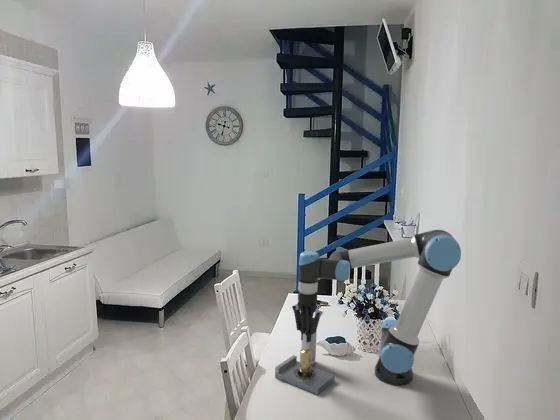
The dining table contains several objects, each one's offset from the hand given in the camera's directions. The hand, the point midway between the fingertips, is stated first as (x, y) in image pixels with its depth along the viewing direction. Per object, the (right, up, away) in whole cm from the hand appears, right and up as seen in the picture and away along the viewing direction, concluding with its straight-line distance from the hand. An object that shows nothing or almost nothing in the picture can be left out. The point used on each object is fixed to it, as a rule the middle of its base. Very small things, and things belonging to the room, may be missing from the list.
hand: (305, 348), depth 170 cm
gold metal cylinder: (0, -13, +2) cm, 13 cm away
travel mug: (+2, -11, +15) cm, 19 cm away
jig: (0, -13, +2) cm, 13 cm away
